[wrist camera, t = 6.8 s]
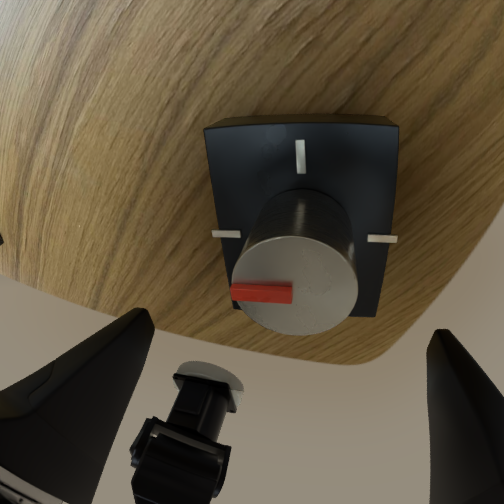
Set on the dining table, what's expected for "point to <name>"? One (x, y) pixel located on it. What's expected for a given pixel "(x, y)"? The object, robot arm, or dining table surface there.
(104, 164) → the dining table surface
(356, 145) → the dial panel
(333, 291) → the dial
